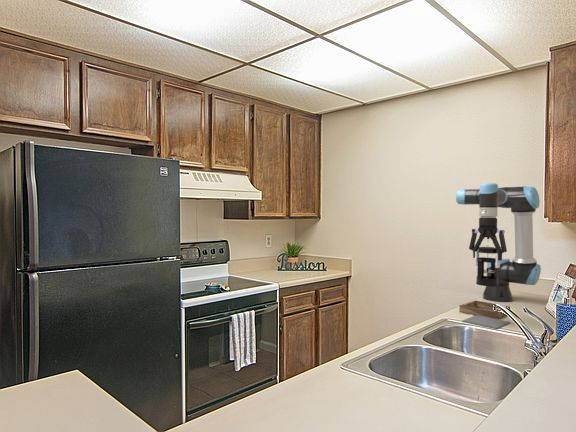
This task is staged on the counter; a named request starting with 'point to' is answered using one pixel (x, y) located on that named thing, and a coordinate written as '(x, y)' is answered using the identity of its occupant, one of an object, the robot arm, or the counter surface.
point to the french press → (481, 278)
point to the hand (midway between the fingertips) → (487, 266)
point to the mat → (486, 322)
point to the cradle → (481, 309)
